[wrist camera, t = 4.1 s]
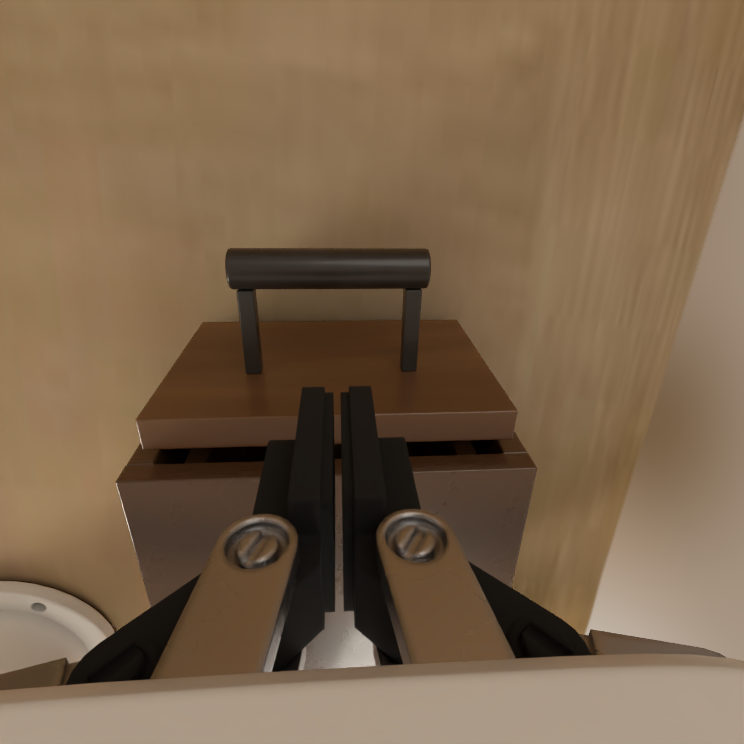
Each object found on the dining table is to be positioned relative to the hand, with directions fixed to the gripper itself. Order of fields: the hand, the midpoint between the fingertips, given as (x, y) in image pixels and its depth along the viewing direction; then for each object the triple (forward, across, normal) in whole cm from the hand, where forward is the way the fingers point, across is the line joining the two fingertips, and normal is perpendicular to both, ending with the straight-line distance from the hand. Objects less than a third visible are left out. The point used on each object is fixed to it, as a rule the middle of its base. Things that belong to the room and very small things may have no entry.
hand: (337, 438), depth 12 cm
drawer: (+12, 0, +7) cm, 14 cm away
